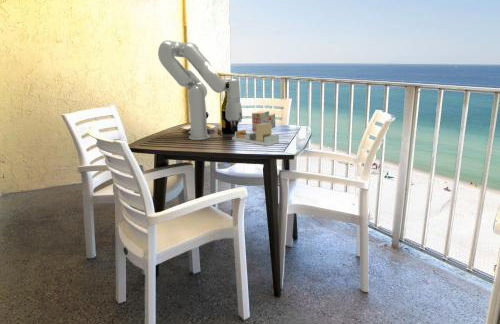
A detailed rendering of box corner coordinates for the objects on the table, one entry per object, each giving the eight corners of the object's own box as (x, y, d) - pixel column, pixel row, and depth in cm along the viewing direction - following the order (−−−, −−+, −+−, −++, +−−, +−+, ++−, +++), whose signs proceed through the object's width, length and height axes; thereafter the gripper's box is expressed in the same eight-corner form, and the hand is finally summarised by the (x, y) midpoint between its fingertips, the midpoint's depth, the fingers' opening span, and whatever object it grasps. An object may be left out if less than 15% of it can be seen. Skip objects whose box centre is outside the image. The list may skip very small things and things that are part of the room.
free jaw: (233, 136, 218) (233, 131, 217) (245, 134, 224) (245, 129, 224) (250, 139, 209) (250, 134, 208) (262, 136, 216) (262, 131, 215)
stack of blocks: (267, 126, 261) (267, 109, 258) (275, 127, 258) (275, 109, 255) (252, 131, 243) (251, 112, 240) (260, 132, 240) (260, 113, 237)
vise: (232, 139, 219) (231, 132, 218) (244, 137, 226) (244, 129, 225) (267, 145, 201) (267, 137, 200) (279, 142, 208) (278, 134, 207)
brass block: (256, 140, 208) (256, 124, 205) (264, 138, 213) (264, 122, 210) (263, 141, 204) (262, 125, 202) (271, 139, 209) (271, 123, 207)
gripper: (220, 100, 221) (221, 131, 226) (238, 101, 211) (239, 133, 216) (229, 99, 226) (230, 129, 231) (247, 100, 216) (248, 131, 221)
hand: (234, 131), depth 224 cm, fingers closed
